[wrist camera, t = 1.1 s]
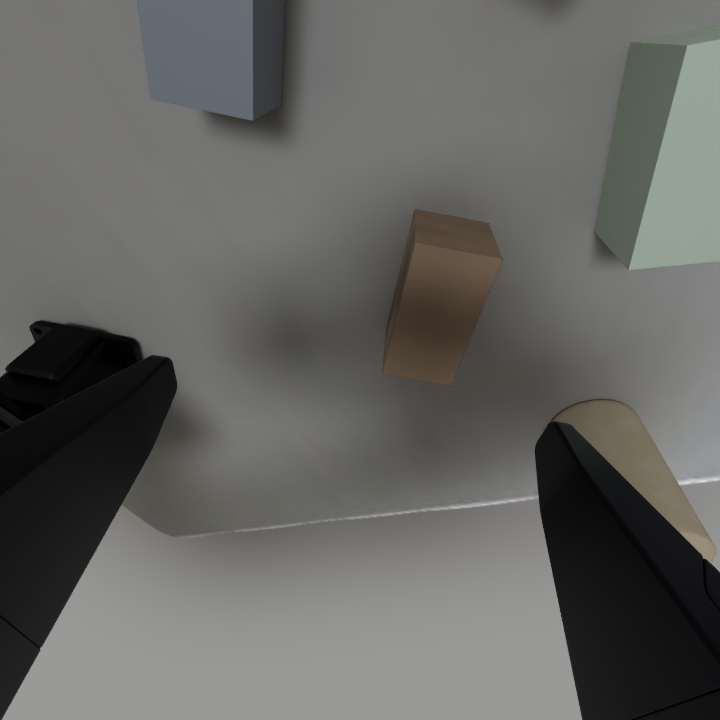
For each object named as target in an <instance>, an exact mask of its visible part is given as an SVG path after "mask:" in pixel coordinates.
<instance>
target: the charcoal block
mask: <svg viewBox="0 0 720 720" xmlns="http://www.w3.org/2000/svg"><path fill="white" fill-rule="evenodd" d="M137 6H138V13H139V20H140V27H141V34H142V42H143V49H144V56H145V63H146V70H147V78H148V85H149V92H150V99H152V100H157V101H161V102H166V103H171V104H176V105H180V106H185V107H190V108H195V109H199V110H204V111H209V112H214V113H218V114H223V115H228V116H233V117H237V118H242V119H247V120H251V121H254V120H255V119H257V118H259V117H261V116H263V115H264V114H266V113H268V112H270V111H272V110H273V109H275V108H277V107H279V106H281V105H282V78H283V51H284V24H285V0H137Z"/></svg>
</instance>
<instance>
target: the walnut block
mask: <svg viewBox="0 0 720 720" xmlns="http://www.w3.org/2000/svg"><path fill="white" fill-rule="evenodd" d="M502 260H503V259H502V256H501V254H500V251H499V249H498V246H497V244H496V241H495V239H494V236H493V234H492V231H491V229H490V226H489V224H488V223H484V222H479V221H473V220H468V219H463V218H458V217H453V216H447V215H442V214H437V213H432V212H427V211H421V210H416V209H415V211H414V215H413V220H412V224H411V228H410V232H409V236H408V240H407V245H406V249H405V253H404V257H403V261H402V265H401V270H400V274H399V278H398V282H397V286H396V290H395V295H394V299H393V303H392V307H391V311H390V315H389V320H388V324H387V328H386V336H385V347H384V359H383V371H382V374H386V375H391V376H397V377H402V378H408V379H413V380H419V381H424V382H430V383H435V384H441V385H446V386H451V384H452V381H453V379H454V376H455V374H456V371H457V369H458V367H459V364H460V362H461V359H462V357H463V354H464V352H465V350H466V347H467V345H468V342H469V340H470V337H471V335H472V333H473V330H474V328H475V325H476V323H477V320H478V318H479V316H480V313H481V311H482V308H483V306H484V303H485V301H486V299H487V296H488V294H489V291H490V289H491V286H492V284H493V282H494V279H495V277H496V274H497V272H498V269H499V267H500V264H501V262H502Z"/></svg>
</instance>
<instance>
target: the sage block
mask: <svg viewBox="0 0 720 720" xmlns="http://www.w3.org/2000/svg"><path fill="white" fill-rule="evenodd" d="M594 232H595V234H596V235H597V236H598V237H599V238H600V239H601V240H602V241H603V242H604V243H605V245H606V246H607V247H608V248H609V249H610V250H611V251H612V252H613V253H614V255H615V256H616V257H617V258H618V259H619V260H620V261H621V262H622V263H623V264H624V266H625V267H626V268H627V269H628V270H635V269H645V268H655V267H665V266H675V265H685V264H695V263H705V262H715V261H720V25H718V26H712V27H707V28H702V29H697V30H692V31H686V32H681V33H676V34H671V35H665V36H660V37H655V38H650V39H645V40H639V41H634V42H630V47H629V52H628V58H627V63H626V68H625V73H624V79H623V84H622V89H621V94H620V99H619V105H618V110H617V115H616V120H615V126H614V131H613V136H612V141H611V146H610V152H609V157H608V162H607V167H606V173H605V178H604V183H603V188H602V193H601V199H600V204H599V209H598V214H597V220H596V225H595V230H594Z"/></svg>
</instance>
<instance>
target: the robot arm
mask: <svg viewBox="0 0 720 720" xmlns="http://www.w3.org/2000/svg"><path fill="white" fill-rule="evenodd" d="M30 331H31V333H32V335H33V338H34V340H35V343H34V344H33V345H32V346H30V347H29V348H28V349H27V350H25V351H24V352H23V353H22V354H21V355H19V356H18V357H17V358H16V359H15V360H13V361H12V362H11V363H10V364H9V365H7V366H6V368H5V370H6V373H5V374H4V375H3V376H1V377H0V720H2V718H3V716H4V714H5V712H6V711H7V709H8V707H9V705H10V704H11V702H12V700H13V698H14V696H15V694H16V693H17V691H18V689H19V688H20V686H21V684H22V682H23V680H24V678H25V677H26V675H27V673H28V671H29V670H30V668H31V666H32V664H33V662H34V661H35V659H36V657H37V655H38V654H39V652H40V648H41V647H42V646H43V644H44V642H45V640H46V638H47V637H48V635H49V633H50V631H51V630H52V628H53V626H54V624H55V622H56V621H57V619H58V617H59V615H60V614H61V612H62V610H63V608H64V606H65V605H66V603H67V601H68V599H69V597H70V596H71V594H72V592H73V590H74V588H75V587H76V585H77V583H78V581H79V579H80V578H81V576H82V574H83V572H84V571H85V569H86V567H87V565H88V563H89V561H90V559H91V558H92V556H93V554H94V553H95V551H96V549H97V547H98V545H99V544H100V542H101V540H102V538H103V536H104V535H105V533H106V531H107V529H108V527H109V525H110V524H111V522H112V520H113V519H114V517H115V515H116V513H117V512H118V510H119V508H120V506H121V504H122V503H123V501H124V499H125V497H126V495H127V494H128V492H129V490H130V488H131V486H132V485H133V483H134V481H135V479H136V477H137V476H138V474H139V472H140V470H141V469H142V467H143V465H144V463H145V461H146V460H147V458H148V456H149V454H150V452H151V450H152V448H153V446H154V444H155V442H156V439H157V437H158V435H159V432H160V430H161V427H162V425H163V423H164V420H165V418H166V415H167V413H168V411H169V408H170V406H171V403H172V401H173V398H174V396H175V394H176V390H177V380H176V376H175V371H174V366H173V362H172V360H171V359H170V358H168V357H163V356H156V355H152V356H149V357H147V358H145V359H143V360H141V358H140V354H139V349H138V345H137V343H136V342H135V341H133V340H132V339H129V338H125V337H120V336H114V335H109V334H104V333H99V332H94V331H89V330H84V329H78V328H73V327H68V326H63V325H58V324H53V323H47V322H42V321H36V322H34V323H33V324H32V325H30ZM128 346H129V347H128ZM535 459H536V471H537V483H538V494H539V504H540V512H541V518H542V524H543V528H544V533H545V538H546V543H547V548H548V553H549V558H550V563H551V568H552V572H553V578H554V583H555V587H556V592H557V597H558V602H559V606H560V612H561V617H562V622H563V626H564V632H565V637H566V642H567V646H568V651H569V656H570V661H571V666H572V671H573V676H574V681H575V686H576V691H577V696H578V701H579V706H580V711H581V716H582V720H720V572H719V571H718V570H717V569H716V568H715V567H714V566H713V565H712V564H711V563H710V562H709V561H708V560H707V559H703V556H702V554H701V553H700V552H699V551H698V550H697V549H696V548H695V547H694V546H693V545H692V544H691V543H690V542H689V541H688V540H687V539H686V538H685V537H684V536H683V535H682V534H681V533H680V532H679V531H678V530H677V529H676V528H675V527H674V526H673V525H672V524H671V523H670V522H669V521H668V520H667V519H666V518H665V517H664V516H663V515H662V514H661V513H660V512H658V511H657V510H656V509H655V508H654V507H653V506H652V505H651V504H650V503H649V502H648V501H647V500H646V499H645V498H644V497H643V496H642V495H641V494H640V493H639V492H638V491H637V490H636V489H635V488H634V487H633V486H632V485H631V484H630V483H629V482H628V481H627V480H626V479H625V478H624V477H623V476H622V475H621V474H620V473H619V472H618V471H617V470H616V469H615V468H614V467H613V466H612V465H611V464H610V463H609V462H608V461H607V460H606V459H605V458H604V457H603V456H602V455H601V454H600V453H599V452H598V451H597V450H596V449H595V448H594V447H593V446H592V445H591V444H590V443H589V442H588V441H587V440H586V439H585V438H584V437H583V436H582V435H581V434H580V433H579V432H578V431H577V430H576V429H575V428H574V427H573V426H572V425H571V424H568V423H564V422H558V421H552V422H550V423H549V424H548V425H547V427H546V429H545V430H544V432H543V433H542V435H541V436H540V438H539V439H538V441H537V443H536V446H535Z"/></svg>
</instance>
